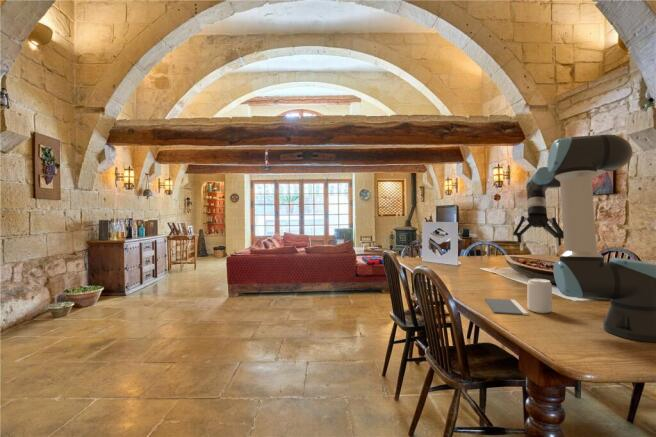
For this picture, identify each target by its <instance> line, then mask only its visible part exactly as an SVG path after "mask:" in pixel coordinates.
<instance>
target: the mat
mask: <svg viewBox="0 0 656 437" xmlns="http://www.w3.org/2000/svg"><path fill="white" fill-rule="evenodd" d="M484 301H485V302H486V304H487V305H488V306H489V308H490V310H491V311H492V312H493V314H504V315H517V316H529V312H528V311H527V310H526V309H525V308H524V307H523V306H522V305H521V304H520V303H519V302H518V301H517V300H516V299H505V298H504V299H503V298H484Z"/></svg>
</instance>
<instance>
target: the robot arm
mask: <svg viewBox="0 0 656 437" xmlns="http://www.w3.org/2000/svg"><path fill="white" fill-rule="evenodd" d="M632 156H633V148H632V145H631V144H630V143H629V141H628V140H627V139H625V138H623V137H621V136H619V135H615V134H609V133H608V134H596V135H595V134H594V135H581V136H579V135H578V136H569V137H561V138H558V139H556V140H554V141H553V143H552V144H551V146H550V148H549V151H548V155H547V165H546V166H542V167H538V168H537V169H536V170H535V171H534V173H533V174H532V177H530V178H529V179H527V181H526V185H525V187H526V202H527V217H525V216H524V215H521V217H520V219H519V223H518V224H517V225H516V228H515V229H514V231H513V233H512V236H515V237H516V238H517V244H519V249H520V250H519V251H521V252H522V251H524V247H525V246H524V235H523V234H525V232H527V231H528V230H529V229H530V228H531V227H533V228H540V229H541V228H543V229H545V230H546V231H547V232H548V233H549V234H550V235H551V236H553V237H554V252H555V254H558V253H560V247H561V245H562V239H563V248H564V250H563V252H562V253H561V254H560V255H559V260H557V261H555V262H554V263H553V268H552V269H553V277H554V282H555V284H556V286H557V289H558V290H559V292H560V293H561V294H562V295H564V296H566V297H570V298H577V299H593V298H597V300H609V303H610V304H609V308H608V311H607V313H606V315H605V316H604V317H605V318H604V319H603V323H602V327H603V330H604V331H605V332H607V333H609V334H612V335H615V336H617V337H621V338H623V339H629V340H633V341H640V342H648V343H656V264H655V263H651V262H647V261H643V260H642V261H641V260H637V259H635V260H634V259H630V258H629V259H628V258H622V257H621V258H620V257H611V258H609V262H607V261H606V262H605V261H604V260H605V259H604V256H603V255H602V254H601V253H600V252H599V251H598V249H597V248H598V247H597V236H596V234H597V232H596V220H595V210H594V209H595V206H594V194H593V179H594V178H596V177H598V176H601V175H602V174H605V173H607V172H613V171H617V170H619V169H622V168H623V167H625V166H626V165H627V164H628V163H629V162H630V161H631V159H632ZM548 188H549V189H551V188H560V199H561V200H560V201H561V215H562V216H561V218H562V228H561V227H560V225H559V224H558V221H557V219H556V217H552V218H548V212H547V211H548V210H547V200H546V199H547V198H546V192H547V190H548ZM525 222H527V223H528V224H527V225H525V227H523V228H522V229H521V230H520V228H521V227H522V226H523V223H525ZM550 224H551V226H550ZM519 230H520V231H519Z"/></svg>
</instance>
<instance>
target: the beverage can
mask: <svg viewBox="0 0 656 437" xmlns="http://www.w3.org/2000/svg"><path fill="white" fill-rule="evenodd" d="M526 283H527V284H526V285H527V286H526V287H527V288H526V291H527V292H526V294H527V298H526V299H527V300H526V302H527V305H526V306H527V309H528V310H530V311H531V312H533V313H537V314H549V313H551V312H552V311H553V284H552V283H551V280H549V279H544V278H529V279H528V281H527V282H526Z"/></svg>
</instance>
